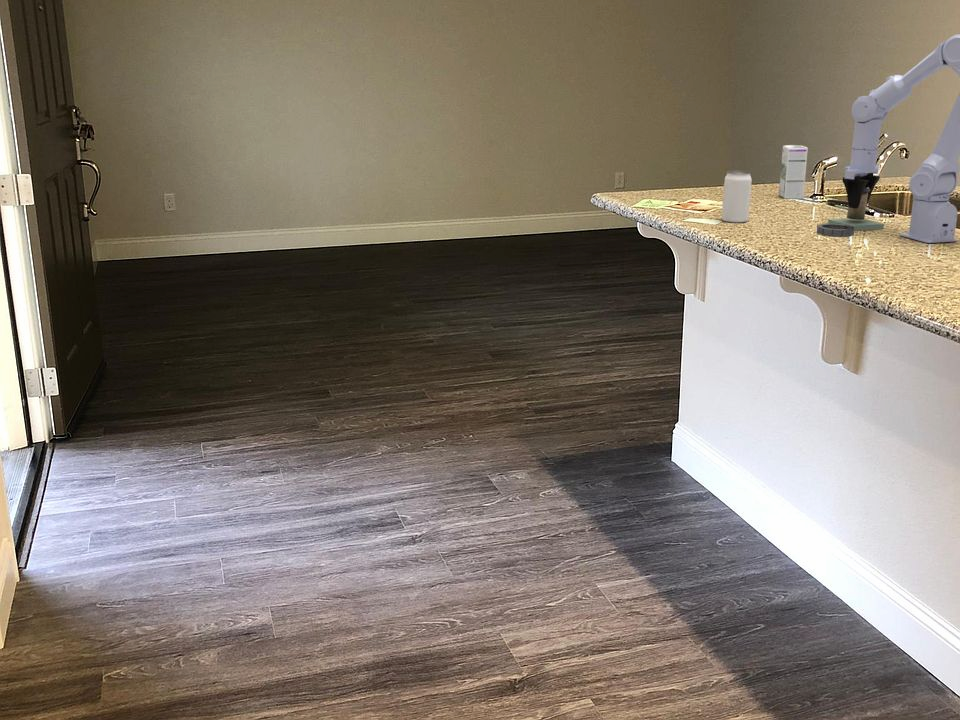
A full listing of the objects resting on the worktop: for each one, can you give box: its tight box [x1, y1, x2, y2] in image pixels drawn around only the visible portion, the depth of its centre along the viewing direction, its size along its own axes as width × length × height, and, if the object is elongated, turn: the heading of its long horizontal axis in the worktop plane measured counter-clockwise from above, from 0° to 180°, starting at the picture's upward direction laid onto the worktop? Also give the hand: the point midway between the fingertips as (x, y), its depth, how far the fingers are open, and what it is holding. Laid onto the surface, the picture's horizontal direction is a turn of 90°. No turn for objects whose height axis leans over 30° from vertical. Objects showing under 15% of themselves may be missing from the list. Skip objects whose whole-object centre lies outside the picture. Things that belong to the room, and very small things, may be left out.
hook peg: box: [846, 187, 870, 220], centre depth 233 cm, size 5×5×8 cm
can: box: [721, 170, 753, 224], centre depth 241 cm, size 6×6×12 cm
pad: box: [827, 217, 885, 232], centre depth 235 cm, size 9×9×1 cm
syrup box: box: [778, 144, 809, 200], centre depth 276 cm, size 6×6×14 cm
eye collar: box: [816, 223, 855, 238], centre depth 227 cm, size 8×8×2 cm
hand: (857, 206), depth 234 cm, fingers closed on hook peg, 4 cm apart
